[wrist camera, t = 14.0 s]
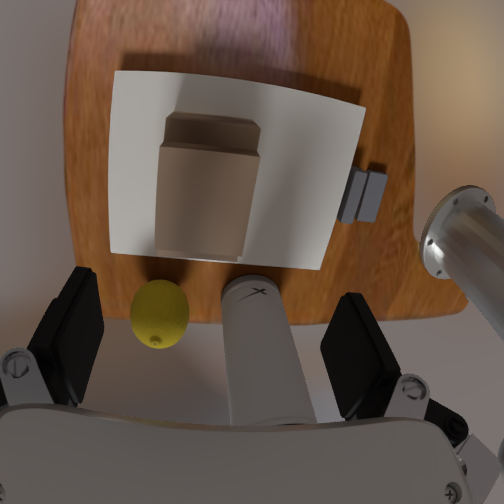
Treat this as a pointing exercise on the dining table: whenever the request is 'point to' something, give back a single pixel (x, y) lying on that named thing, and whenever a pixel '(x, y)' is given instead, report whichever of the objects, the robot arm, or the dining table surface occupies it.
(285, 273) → the dining table surface
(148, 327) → the lemon
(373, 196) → the dark grey block
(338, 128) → the board
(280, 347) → the travel mug
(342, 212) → the dark grey block
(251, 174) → the block
